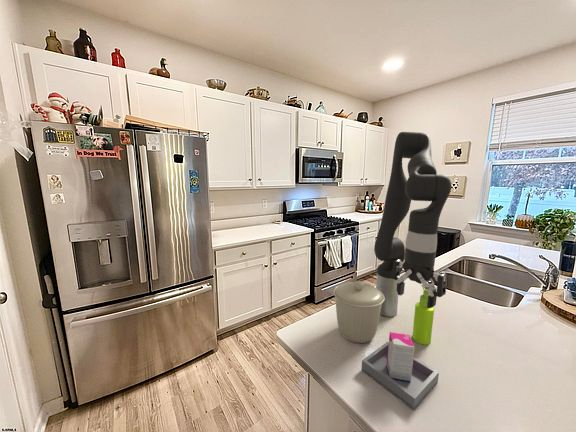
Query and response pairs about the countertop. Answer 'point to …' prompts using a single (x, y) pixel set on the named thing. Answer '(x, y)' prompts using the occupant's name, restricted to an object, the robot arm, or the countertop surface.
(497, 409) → the countertop surface
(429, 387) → the tray
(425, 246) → the robot arm
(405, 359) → the supplement box
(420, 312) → the soap dispenser
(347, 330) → the canister
